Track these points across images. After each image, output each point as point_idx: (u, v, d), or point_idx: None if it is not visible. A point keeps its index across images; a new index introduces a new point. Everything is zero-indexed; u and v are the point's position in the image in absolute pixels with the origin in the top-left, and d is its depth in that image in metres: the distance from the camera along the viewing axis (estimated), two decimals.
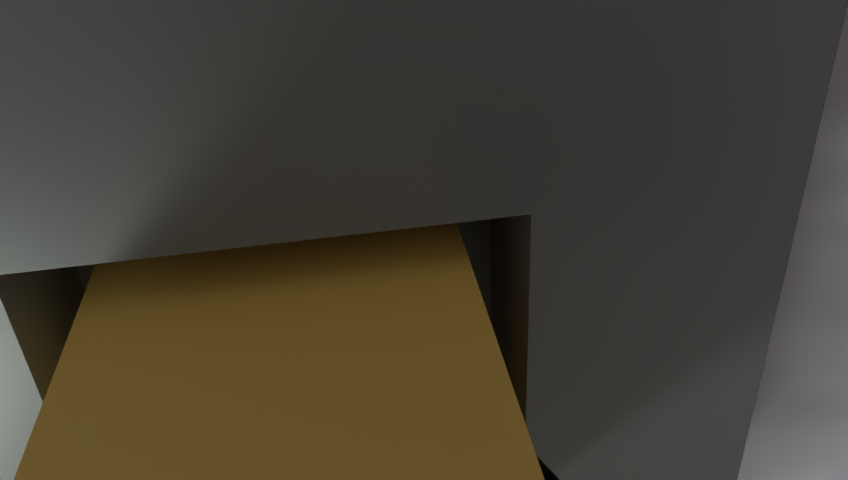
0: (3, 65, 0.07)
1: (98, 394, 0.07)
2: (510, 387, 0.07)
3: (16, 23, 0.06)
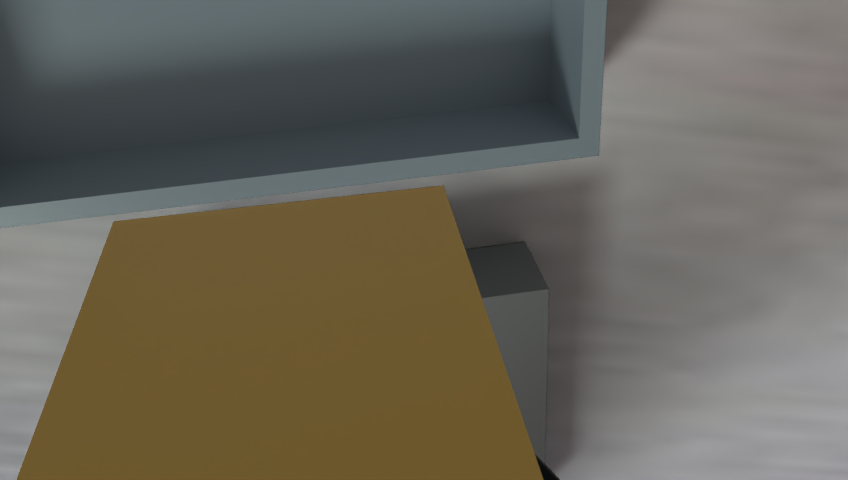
0: None
1: (99, 399, 0.07)
2: (509, 392, 0.07)
3: None
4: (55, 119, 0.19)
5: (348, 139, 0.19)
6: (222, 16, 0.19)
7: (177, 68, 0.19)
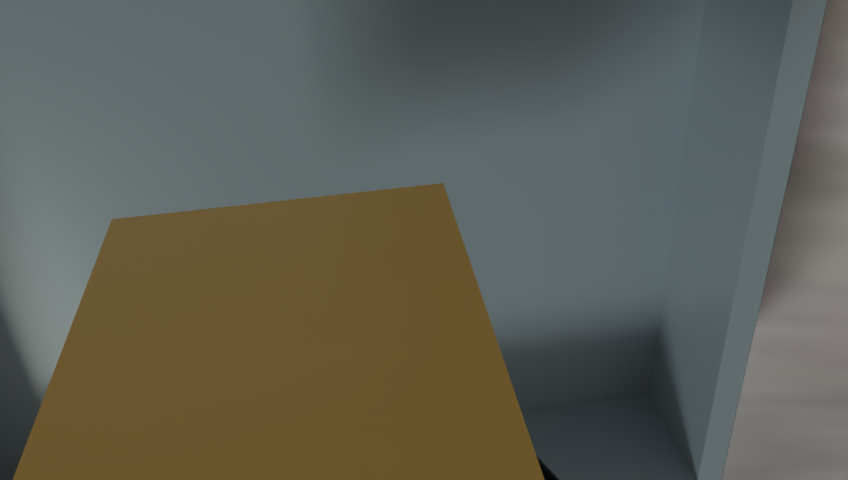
0: None
1: (96, 397, 0.07)
2: (509, 390, 0.07)
3: None
4: None
5: None
6: None
7: None
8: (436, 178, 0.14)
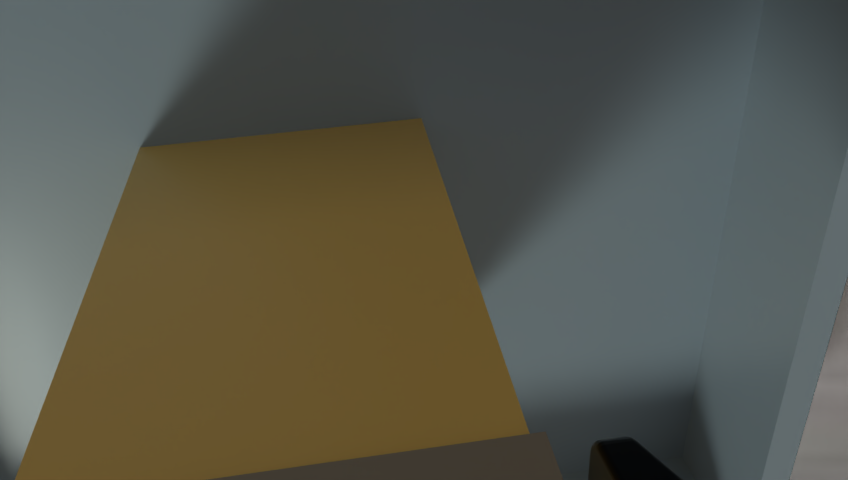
0: None
1: (136, 268, 0.09)
2: (467, 262, 0.09)
3: None
4: None
5: None
6: None
7: None
8: None
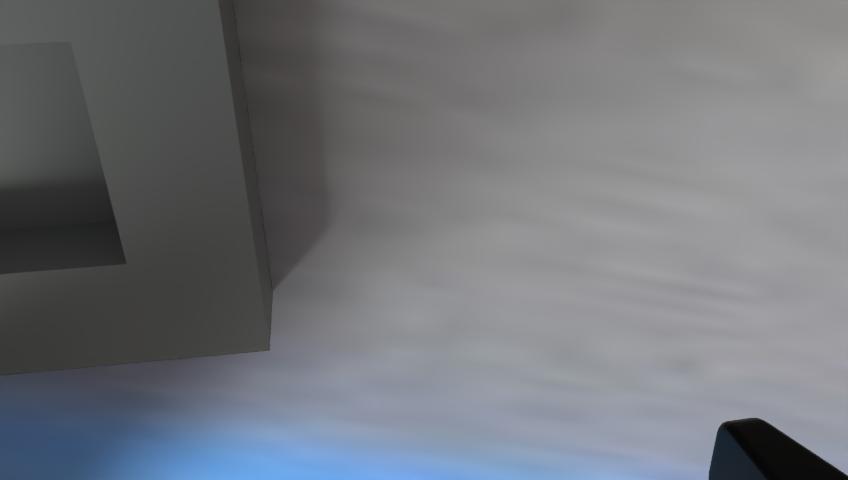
0: None
1: None
2: None
3: None
4: None
5: None
6: None
7: None
8: None
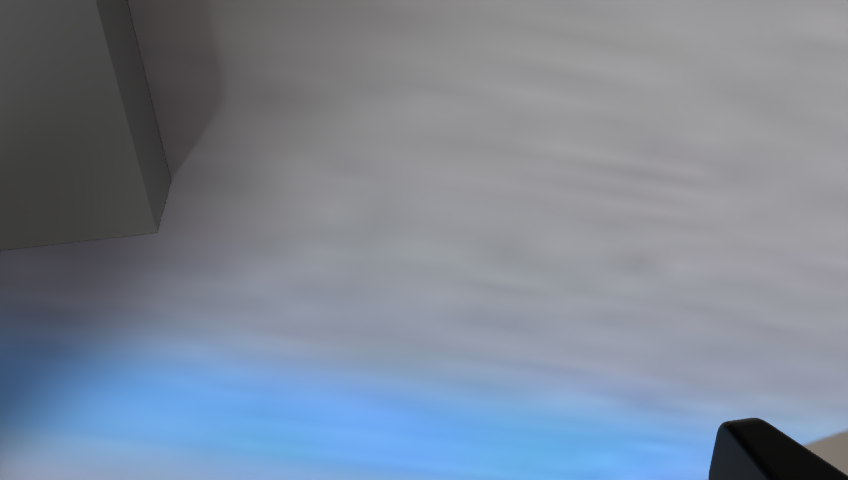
0: None
1: None
2: None
3: None
4: None
5: None
6: None
7: None
8: None
